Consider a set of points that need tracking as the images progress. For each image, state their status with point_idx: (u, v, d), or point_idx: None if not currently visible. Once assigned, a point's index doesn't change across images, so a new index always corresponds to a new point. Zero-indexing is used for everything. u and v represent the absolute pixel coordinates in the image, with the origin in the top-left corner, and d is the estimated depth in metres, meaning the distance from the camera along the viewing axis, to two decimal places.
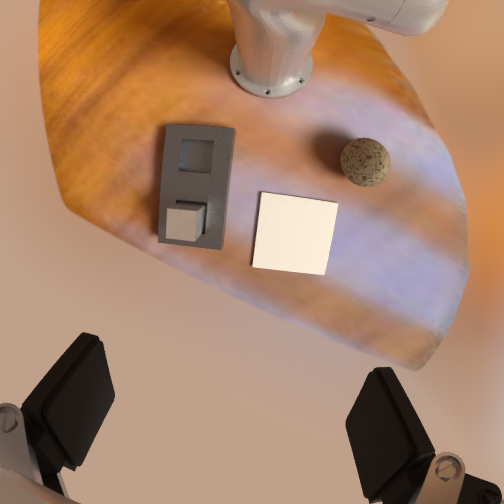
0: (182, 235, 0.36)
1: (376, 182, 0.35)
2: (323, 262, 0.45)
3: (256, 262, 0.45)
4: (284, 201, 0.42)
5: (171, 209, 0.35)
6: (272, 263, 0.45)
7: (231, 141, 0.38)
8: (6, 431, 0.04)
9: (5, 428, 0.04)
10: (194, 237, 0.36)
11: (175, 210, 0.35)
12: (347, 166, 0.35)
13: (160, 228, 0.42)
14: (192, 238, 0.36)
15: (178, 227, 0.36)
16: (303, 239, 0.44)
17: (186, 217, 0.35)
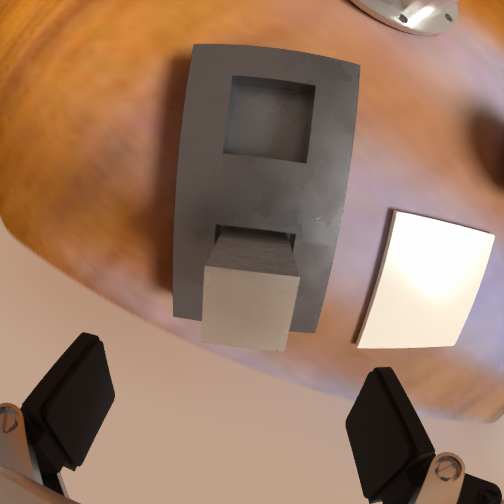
0: (248, 338, 0.13)
1: None
2: (458, 328, 0.22)
3: (365, 340, 0.22)
4: (430, 231, 0.19)
5: (218, 269, 0.12)
6: (391, 339, 0.22)
7: (355, 92, 0.14)
8: (6, 431, 0.04)
9: (4, 428, 0.04)
10: (283, 342, 0.13)
11: (231, 273, 0.12)
12: None
13: (178, 289, 0.18)
14: (278, 345, 0.13)
15: (240, 318, 0.12)
16: (443, 296, 0.21)
17: (265, 293, 0.12)
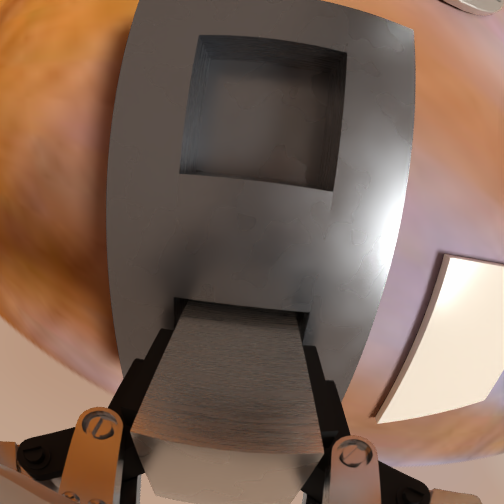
0: (228, 502, 0.06)
1: None
2: (492, 382, 0.15)
3: (388, 415, 0.15)
4: (485, 279, 0.12)
5: (157, 439, 0.05)
6: (418, 408, 0.15)
7: (411, 71, 0.07)
8: (96, 435, 0.05)
9: (95, 431, 0.05)
10: (285, 503, 0.06)
11: (184, 448, 0.05)
12: None
13: None
14: None
15: (211, 488, 0.05)
16: (484, 354, 0.14)
17: (254, 471, 0.05)
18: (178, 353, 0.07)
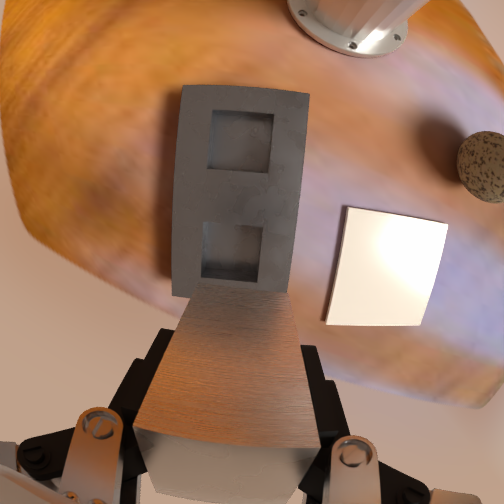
0: (227, 498, 0.06)
1: None
2: (421, 308, 0.27)
3: (333, 317, 0.27)
4: (381, 222, 0.24)
5: (159, 433, 0.05)
6: (356, 316, 0.27)
7: (305, 116, 0.20)
8: (96, 434, 0.05)
9: (95, 431, 0.05)
10: (284, 500, 0.06)
11: (184, 442, 0.05)
12: (481, 173, 0.18)
13: (175, 273, 0.24)
14: (275, 503, 0.06)
15: (211, 484, 0.05)
16: (401, 279, 0.26)
17: (253, 466, 0.05)
18: (179, 351, 0.08)
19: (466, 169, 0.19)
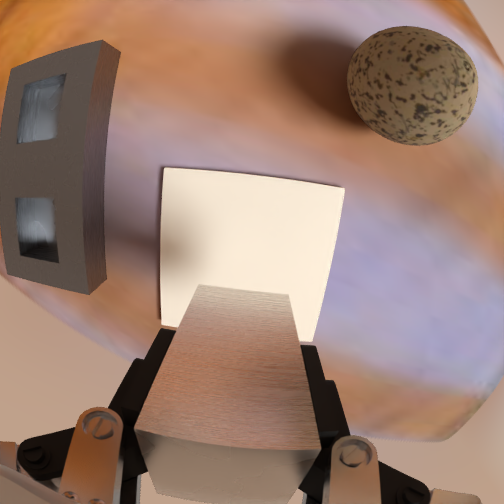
0: (228, 499, 0.06)
1: (448, 129, 0.10)
2: (309, 318, 0.21)
3: (168, 317, 0.21)
4: (215, 185, 0.18)
5: (160, 435, 0.05)
6: None
7: (94, 65, 0.13)
8: (96, 434, 0.05)
9: (95, 431, 0.05)
10: (284, 501, 0.06)
11: (186, 444, 0.05)
12: (369, 83, 0.11)
13: (5, 251, 0.17)
14: None
15: (212, 485, 0.05)
16: (263, 272, 0.20)
17: (254, 467, 0.05)
18: (180, 353, 0.08)
19: (351, 88, 0.13)
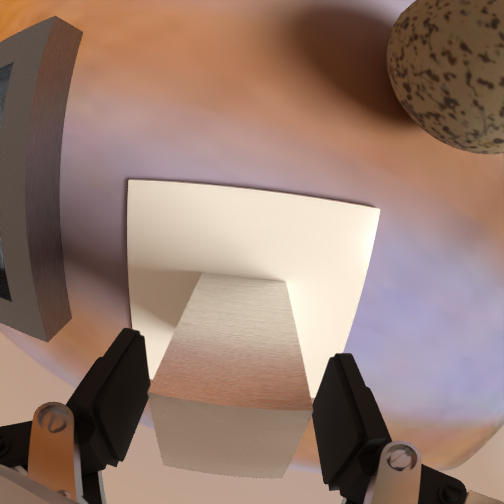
0: (230, 468, 0.07)
1: None
2: None
3: None
4: (198, 205, 0.13)
5: (171, 398, 0.06)
6: None
7: (42, 48, 0.08)
8: (51, 429, 0.04)
9: (50, 426, 0.05)
10: (281, 470, 0.07)
11: (193, 405, 0.06)
12: (433, 56, 0.06)
13: None
14: (273, 474, 0.07)
15: (215, 452, 0.07)
16: None
17: (253, 430, 0.06)
18: (187, 330, 0.09)
19: (399, 65, 0.07)
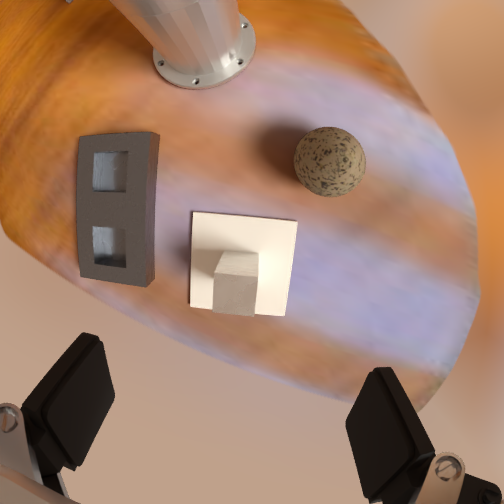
0: (235, 308, 0.26)
1: (344, 189, 0.24)
2: (281, 300, 0.35)
3: (194, 301, 0.35)
4: (223, 222, 0.32)
5: (220, 274, 0.25)
6: None
7: (147, 149, 0.28)
8: (6, 431, 0.04)
9: (4, 428, 0.04)
10: (253, 311, 0.26)
11: (226, 275, 0.25)
12: (300, 169, 0.25)
13: (81, 261, 0.32)
14: (250, 312, 0.26)
15: (231, 298, 0.26)
16: None
17: (242, 285, 0.26)
18: (222, 263, 0.28)
19: None
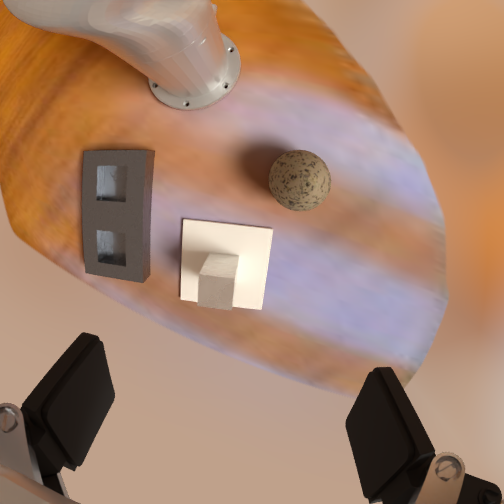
0: (216, 303, 0.32)
1: (309, 207, 0.30)
2: (258, 296, 0.40)
3: (184, 295, 0.40)
4: (209, 229, 0.37)
5: (204, 275, 0.31)
6: None
7: (144, 165, 0.33)
8: (6, 431, 0.04)
9: (5, 428, 0.04)
10: (231, 306, 0.32)
11: (208, 276, 0.31)
12: (272, 188, 0.31)
13: (86, 259, 0.37)
14: (228, 307, 0.32)
15: (212, 295, 0.32)
16: None
17: (222, 284, 0.31)
18: (206, 265, 0.34)
19: (269, 185, 0.32)
